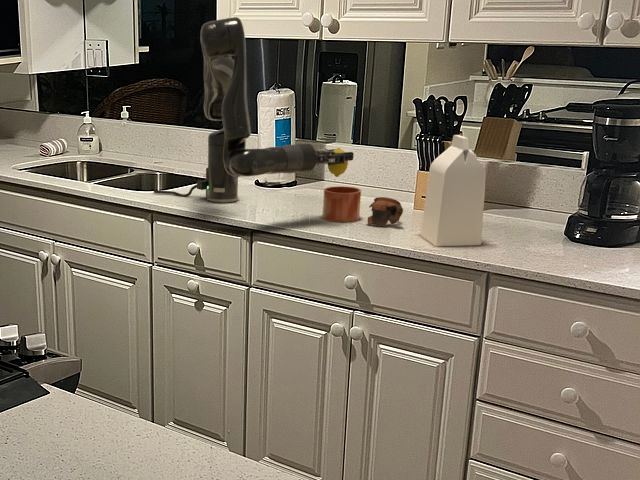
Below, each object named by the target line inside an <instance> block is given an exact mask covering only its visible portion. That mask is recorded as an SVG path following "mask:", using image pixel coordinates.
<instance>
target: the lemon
mask: <svg viewBox="0 0 640 480" xmlns="http://www.w3.org/2000/svg"><path fill="white" fill-rule="evenodd" d="M335 149H336V150H334V152H335V153H340V152H342V153H344V152H345V150H343V149H342V148H340V147H337V148H335ZM330 155H331V153H330ZM348 165H349V161H345V163H343V164H335V165H328V164H327V169H328V171H329V172H330V174H332V175H334V177H336V178H338V177H340V175H342V174H344V173H345V172H346V170H347V168H348Z"/></svg>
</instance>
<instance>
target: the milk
mask: <svg viewBox="0 0 640 480" xmlns="http://www.w3.org/2000/svg"><path fill="white" fill-rule="evenodd" d="M469 147H470V145H469V138H468V137H466V136H463V135H461V134H453V136H452V141H451V145H450V146H449V147H448V148H446V149H445V150H444V151H442V152H441V154H439V155H438V156H437V157H436V158H435V159H434V160H433V161H432V162H431V164H430V166H429V172H428V177H427V178H428V179H427V185H426V192H425V199H424V206H423V213H422V220H421V225H420V234H419V235H420V236H421V237H422V238H423V239H425V240H426V241H428V242H429V243H430V244H432V245H433V246H435V247H459V246H461V247H462V246H463V247H465V246H481V245H482V234H483V223H484V210H485V209H484V206H485V195H486V180H487V179H486V178H487V171H486V167H484V165H483V164H482V163H481V162H480V160H478V159H477V158H478V156H477V154H476V153H475V152H474V151H473V150H472V149H470V148H469Z"/></svg>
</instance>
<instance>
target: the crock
mask: <svg viewBox="0 0 640 480" xmlns="http://www.w3.org/2000/svg"><path fill="white" fill-rule="evenodd" d="M361 199H362V189H361V188H358V187H354V186H343V185H342V186H341V185H339V186H329V187H325V188H324V189H323V199H322V215H321V216H322V219H323V220H325V221H328V222H335V223H351V222H356V221H358V220H360V215H361Z"/></svg>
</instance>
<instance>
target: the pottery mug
mask: <svg viewBox="0 0 640 480" xmlns="http://www.w3.org/2000/svg"><path fill="white" fill-rule="evenodd" d="M368 208H370V209H371V210H370V211H371V212H372V213H371V215H370V216H368V217H367V226H369V225H376V226H379V227H384V228H386V227H387V225H388V223H390V224H391V225H395V224H396V223H397V222H399V221H400V219H401V217H402V215H403V213H404V208H403V206H402V204H401V202H400V201H399V200H397V199H395V198H391V197H387V196H386V197H385V196H379V197H375V198H374V199H373V202H372V203H371V204H370V205H369V206H368Z"/></svg>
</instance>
